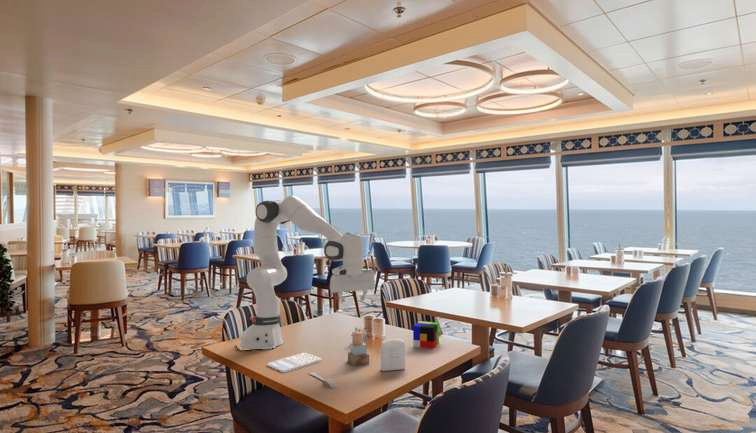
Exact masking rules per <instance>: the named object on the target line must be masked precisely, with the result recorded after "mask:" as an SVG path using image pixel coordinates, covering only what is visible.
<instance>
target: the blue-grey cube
mask: <svg viewBox="0 0 756 433" xmlns="http://www.w3.org/2000/svg"><path fill="white" fill-rule="evenodd" d="M349 343H350V344H349V346H350V352H351V353H352V354H353V355H354V356H356V355H363V354H368V351H367V350H368V347H367V346H368V344H366V342H365V343H364V342H363V345H360V346H354V345H352V342H349Z"/></svg>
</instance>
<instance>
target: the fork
mask: <svg viewBox="0 0 756 433" xmlns="http://www.w3.org/2000/svg"><path fill="white" fill-rule="evenodd" d="M307 374H308V375H310V376H313V377H314V378H317V379H318V380H321V381H323V382H327V383H328V385H329V386H330V387H331V389H333V390H334V389H335V390H336V389H338V386H337V384H336V382H335V380H334V379H332V378H327V379H324V378H322V377H321V376H320V375H318V374H317V373H316V372H314V371H313V372H308V373H307Z"/></svg>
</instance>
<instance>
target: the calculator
mask: <svg viewBox="0 0 756 433" xmlns="http://www.w3.org/2000/svg"><path fill="white" fill-rule="evenodd" d="M322 361H323V359H322V358H321V357H319V356H316V355H313V354H310V353H309V352H308V353H307V352H301V353H298V354H294V355H291V356H287V357H283V358H280V359H277V360H276V359H275V360H273V361H270V362H269V361H268V362H267V364H266V366H267V365H268V366H270V367H272V368H271V369H273V368H274V369H273V370H275V369H276V370H275V371H277V370H279V371H281V372H280V373H282V372H286V373H289V372H292V371H291V370H293V371H296V370H298V368H299V369H302V368H305V366H306V367H308V366H312V365H315V364H319V363H321V362H322ZM268 366H267V367H268ZM270 367H269V368H270ZM295 369H296V370H295ZM279 371H278V372H279ZM288 371H289V372H288Z"/></svg>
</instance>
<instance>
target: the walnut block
mask: <svg viewBox="0 0 756 433" xmlns="http://www.w3.org/2000/svg"><path fill="white" fill-rule="evenodd" d="M347 362H348V363H349V364H351V365H352V366H353V367H357V366H362V365H368V364H370V354H369V353H367V354H363V355H356V356H354V355H353V354H352V353H351V352H349V351H348V352H347Z"/></svg>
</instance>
